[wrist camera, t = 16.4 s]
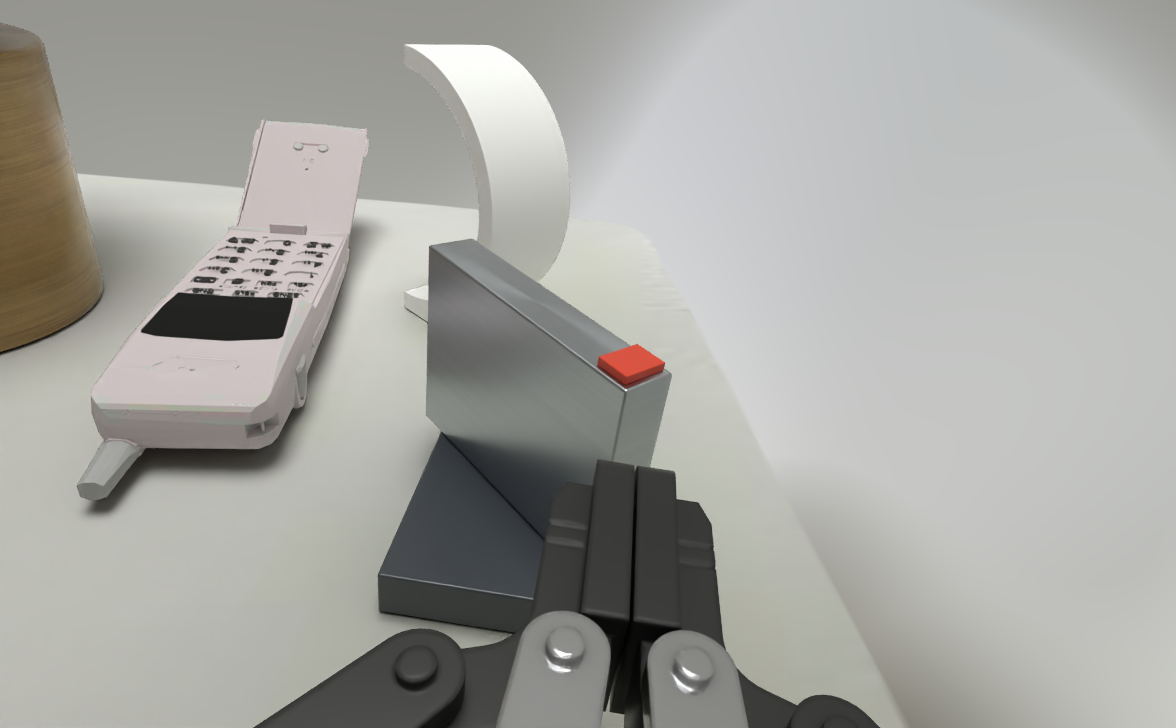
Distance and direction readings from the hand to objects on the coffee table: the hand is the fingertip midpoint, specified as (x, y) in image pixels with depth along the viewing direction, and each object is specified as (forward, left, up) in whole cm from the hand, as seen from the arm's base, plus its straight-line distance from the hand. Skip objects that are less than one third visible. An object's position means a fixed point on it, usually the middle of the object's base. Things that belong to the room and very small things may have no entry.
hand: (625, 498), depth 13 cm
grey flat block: (-3, +7, -6) cm, 9 cm away
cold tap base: (-3, +7, -7) cm, 10 cm away
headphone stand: (-7, +20, -8) cm, 22 cm away
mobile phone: (-16, +17, -8) cm, 24 cm away
